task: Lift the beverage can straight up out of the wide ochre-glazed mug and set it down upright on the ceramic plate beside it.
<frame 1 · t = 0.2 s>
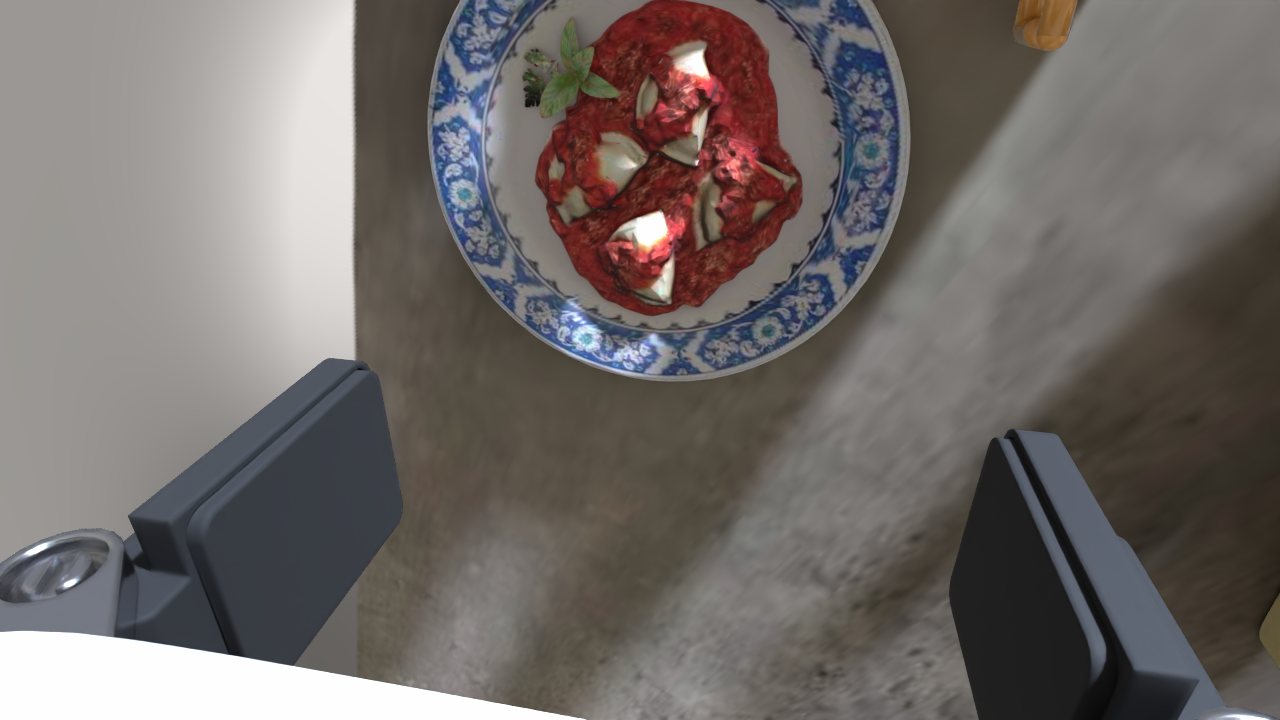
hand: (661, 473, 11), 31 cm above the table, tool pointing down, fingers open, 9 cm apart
ceramic plate: (661, 161, 40), on the table
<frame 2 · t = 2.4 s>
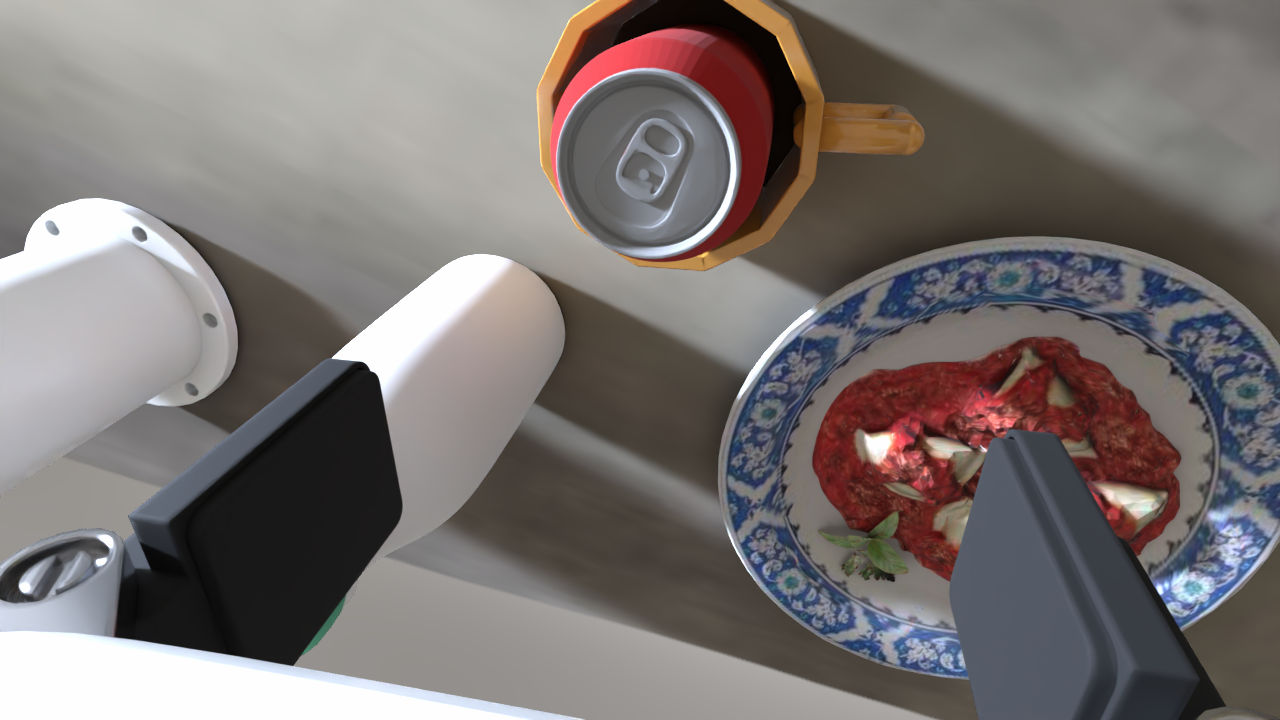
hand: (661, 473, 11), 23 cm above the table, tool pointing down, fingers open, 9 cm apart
beverage can: (696, 106, 31), resting in mug
ceramic plate: (974, 466, 36), on the table
mug: (696, 107, 31), on the table
milk bottle: (499, 318, 38), on the table
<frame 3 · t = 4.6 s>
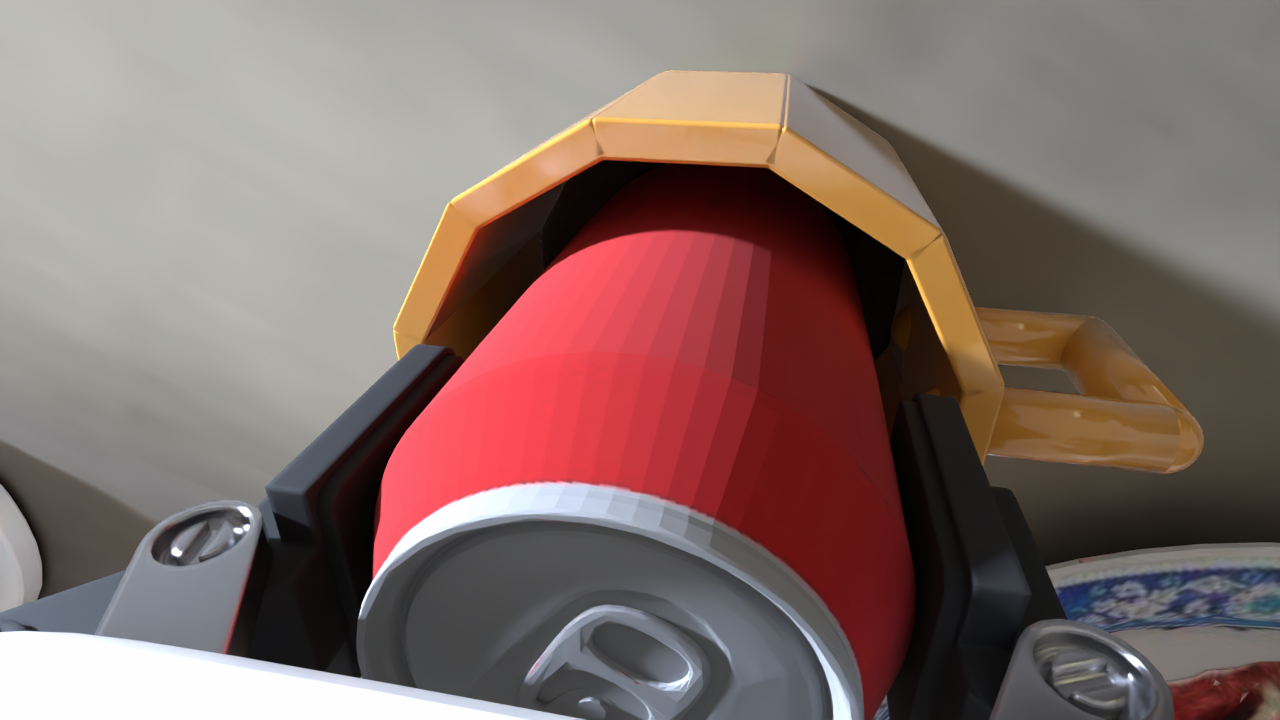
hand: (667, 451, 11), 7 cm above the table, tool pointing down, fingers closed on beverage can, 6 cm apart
beverage can: (714, 283, 18), resting in mug, touching gripper
mug: (713, 286, 18), on the table
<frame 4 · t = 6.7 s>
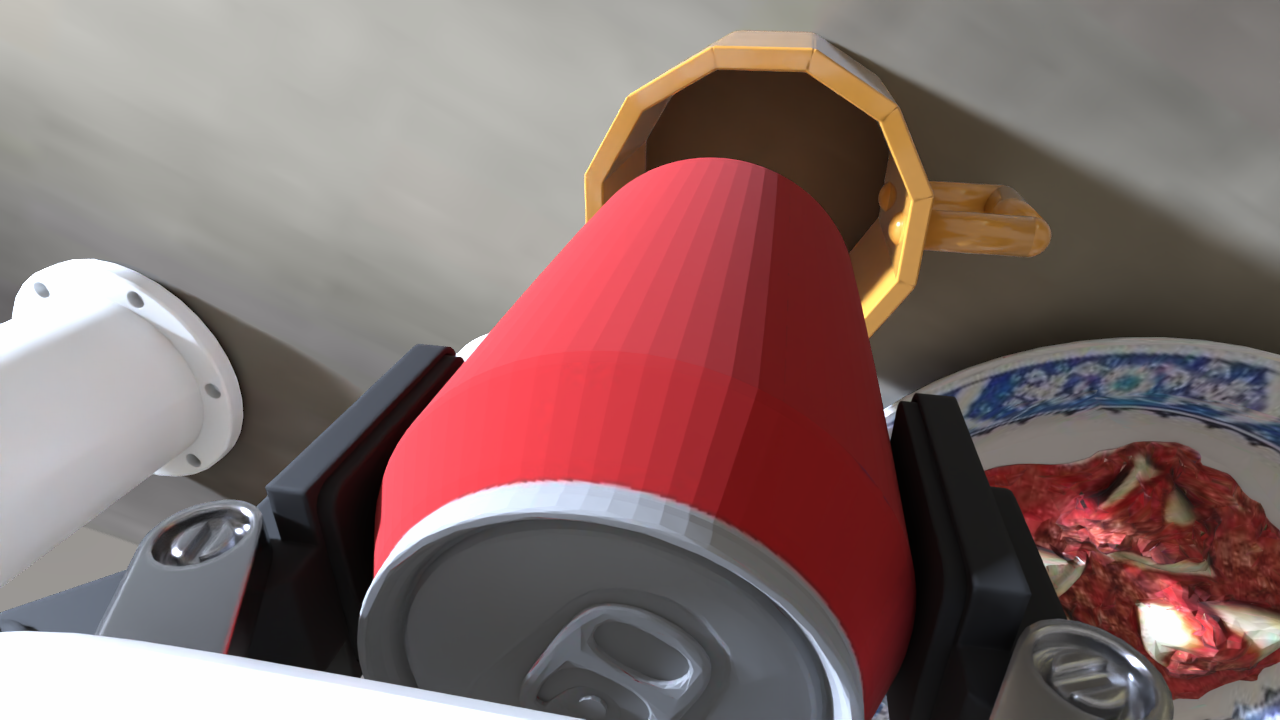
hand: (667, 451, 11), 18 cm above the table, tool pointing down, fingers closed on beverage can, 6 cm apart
beverage can: (714, 283, 18), point 10 cm above the table, touching gripper
ceramic plate: (1064, 573, 32), on the table
mug: (761, 178, 27), on the table
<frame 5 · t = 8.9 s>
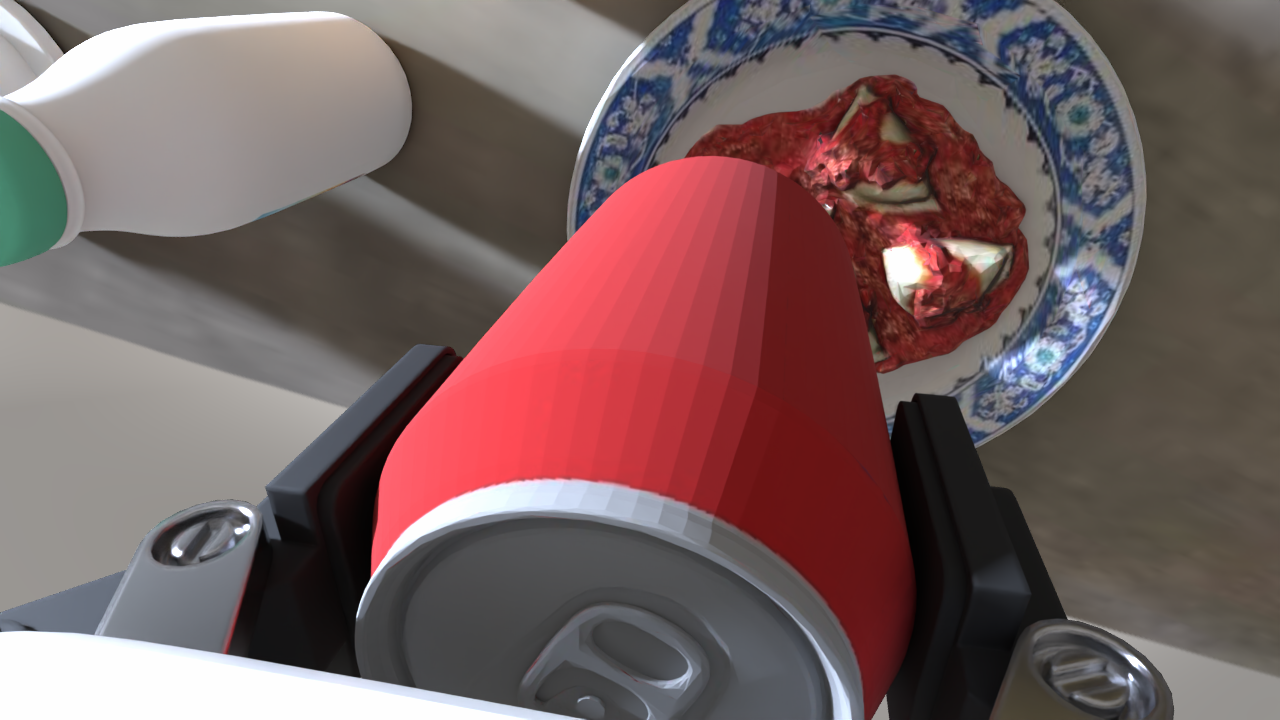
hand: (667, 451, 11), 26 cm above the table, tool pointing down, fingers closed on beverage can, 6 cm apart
beverage can: (713, 282, 18), point 18 cm above the table, touching gripper
ceramic plate: (829, 241, 35), on the table
milk bottle: (349, 93, 37), on the table
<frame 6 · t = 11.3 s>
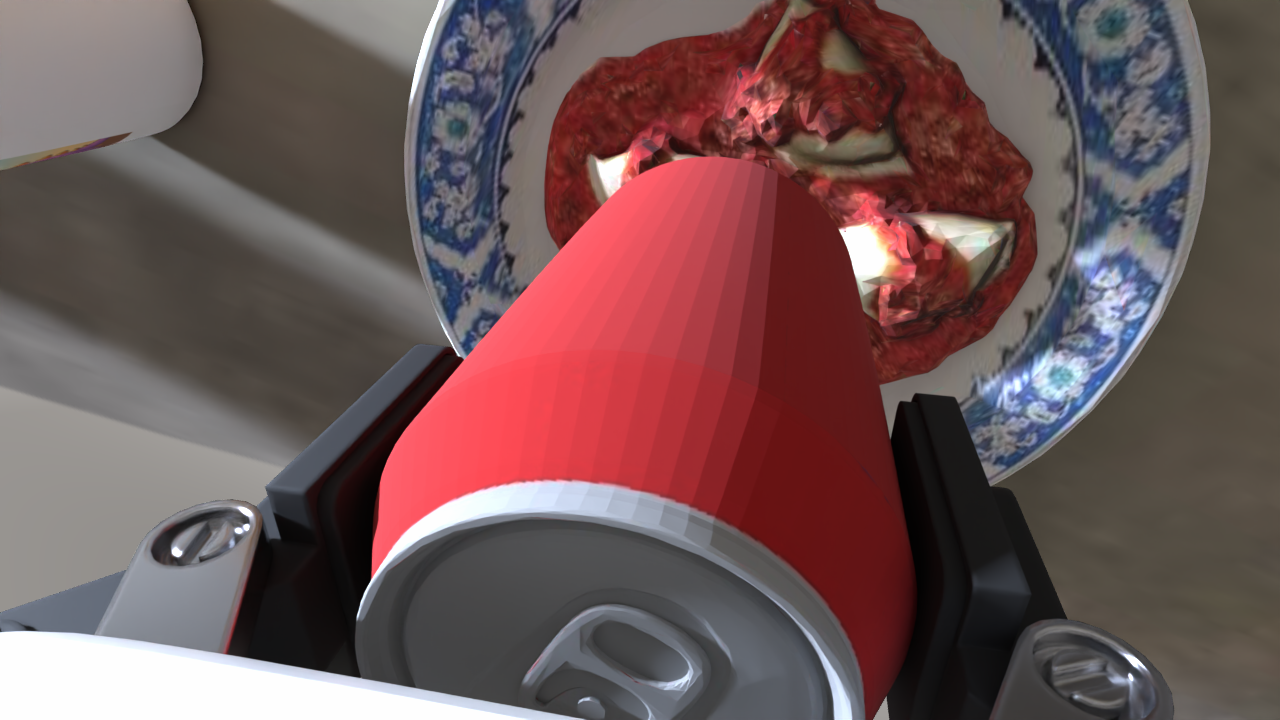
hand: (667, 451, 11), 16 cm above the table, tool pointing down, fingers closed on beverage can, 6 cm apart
beverage can: (714, 282, 18), point 9 cm above the table, touching gripper
ceramic plate: (764, 221, 26), on the table
milk bottle: (122, 29, 27), on the table
when the fingers open (10 cm above the table, at t = 13.3 s): beverage can stays where it is, resting on ceramic plate.
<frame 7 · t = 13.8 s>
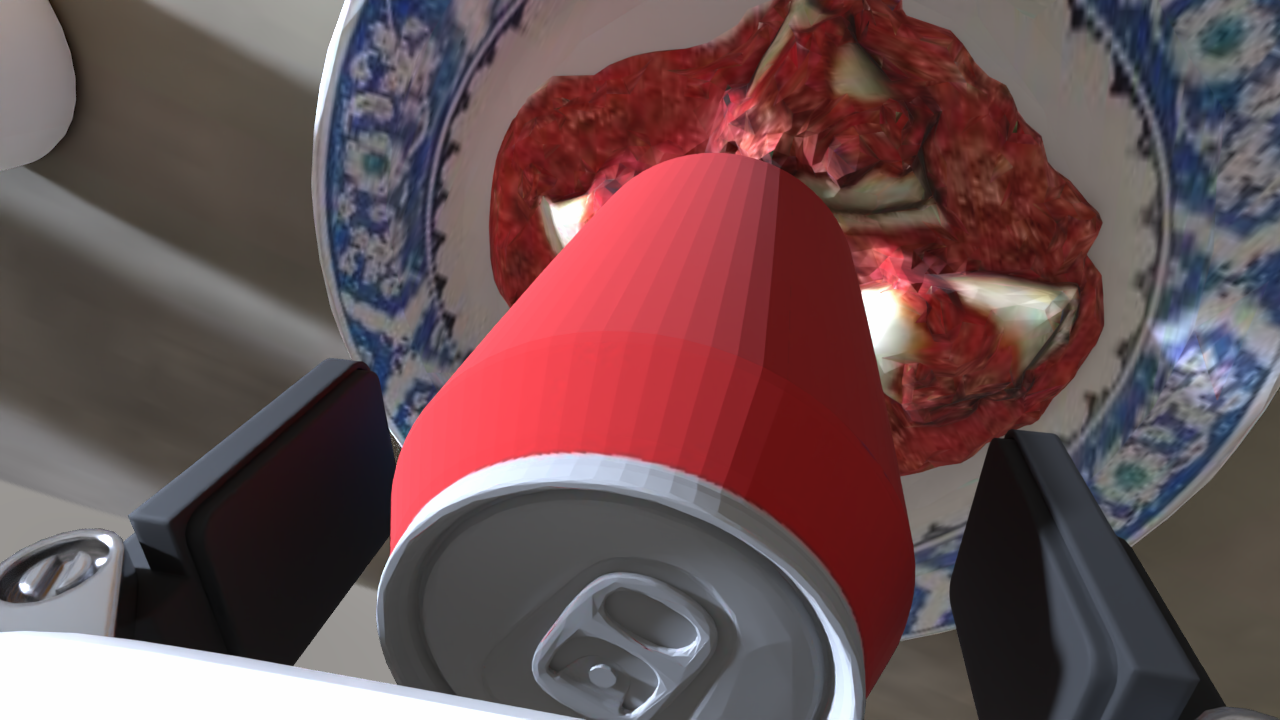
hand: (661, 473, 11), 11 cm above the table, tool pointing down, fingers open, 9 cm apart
beverage can: (716, 277, 18), point 3 cm above the table, touching ceramic plate
ceramic plate: (759, 276, 21), on the table, touching beverage can
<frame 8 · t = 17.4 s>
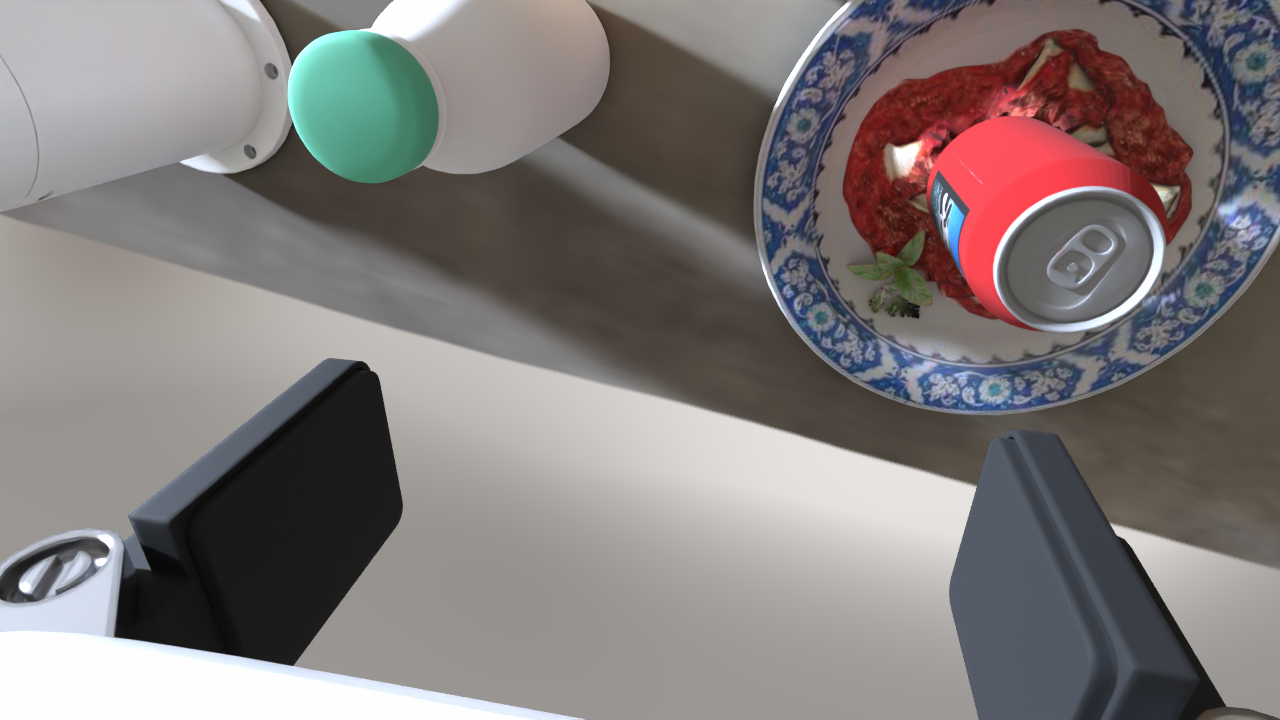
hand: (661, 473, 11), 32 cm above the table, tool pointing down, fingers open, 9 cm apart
beverage can: (994, 182, 35), point 3 cm above the table, touching ceramic plate
ceramic plate: (996, 189, 38), on the table, touching beverage can
milk bottle: (546, 57, 40), on the table
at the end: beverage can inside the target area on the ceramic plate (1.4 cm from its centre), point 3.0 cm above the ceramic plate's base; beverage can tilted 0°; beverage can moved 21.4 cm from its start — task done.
